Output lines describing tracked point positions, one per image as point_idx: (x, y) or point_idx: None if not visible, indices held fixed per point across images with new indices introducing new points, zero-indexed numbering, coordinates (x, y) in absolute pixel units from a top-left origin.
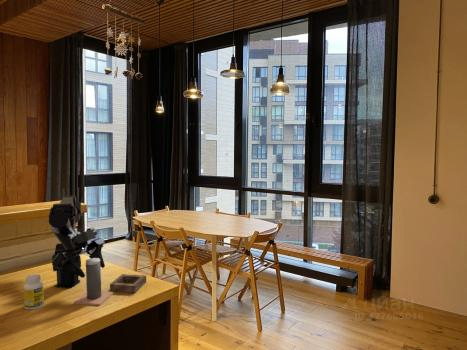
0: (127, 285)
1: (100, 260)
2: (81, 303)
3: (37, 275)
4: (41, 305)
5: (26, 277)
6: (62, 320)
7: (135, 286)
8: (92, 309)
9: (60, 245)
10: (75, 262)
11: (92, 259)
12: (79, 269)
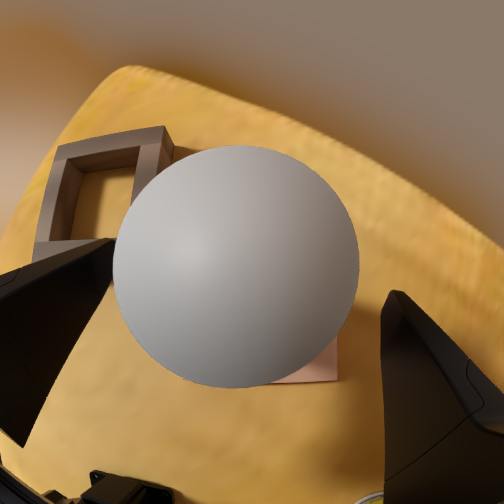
0: (158, 160)
1: (66, 277)
2: (336, 336)
3: None
4: (382, 492)
5: None
6: (470, 315)
7: (163, 127)
8: (370, 248)
9: None
10: (488, 417)
11: (190, 288)
12: (448, 338)
